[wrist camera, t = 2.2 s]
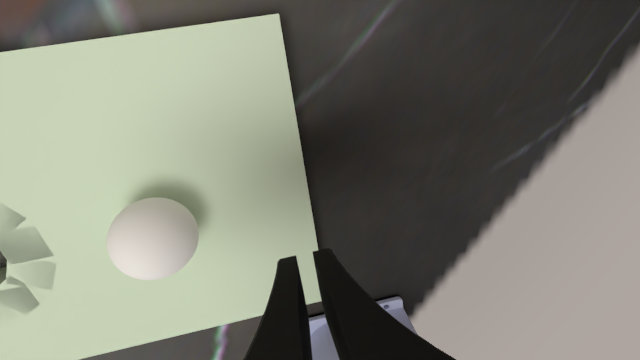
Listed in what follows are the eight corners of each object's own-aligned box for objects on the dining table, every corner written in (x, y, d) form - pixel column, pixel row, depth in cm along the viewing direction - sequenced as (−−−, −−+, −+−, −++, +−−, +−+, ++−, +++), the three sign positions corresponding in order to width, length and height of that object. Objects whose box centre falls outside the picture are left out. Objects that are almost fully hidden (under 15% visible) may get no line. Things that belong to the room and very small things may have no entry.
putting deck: (276, 16, 16) (279, 13, 14) (320, 275, 24) (326, 299, 22) (-261, 91, 14) (-362, 102, 11) (-15, 352, 22) (-46, 389, 19)
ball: (191, 177, 16) (173, 216, 13) (212, 238, 18) (202, 287, 15) (113, 192, 16) (71, 237, 12) (142, 252, 18) (113, 307, 14)
